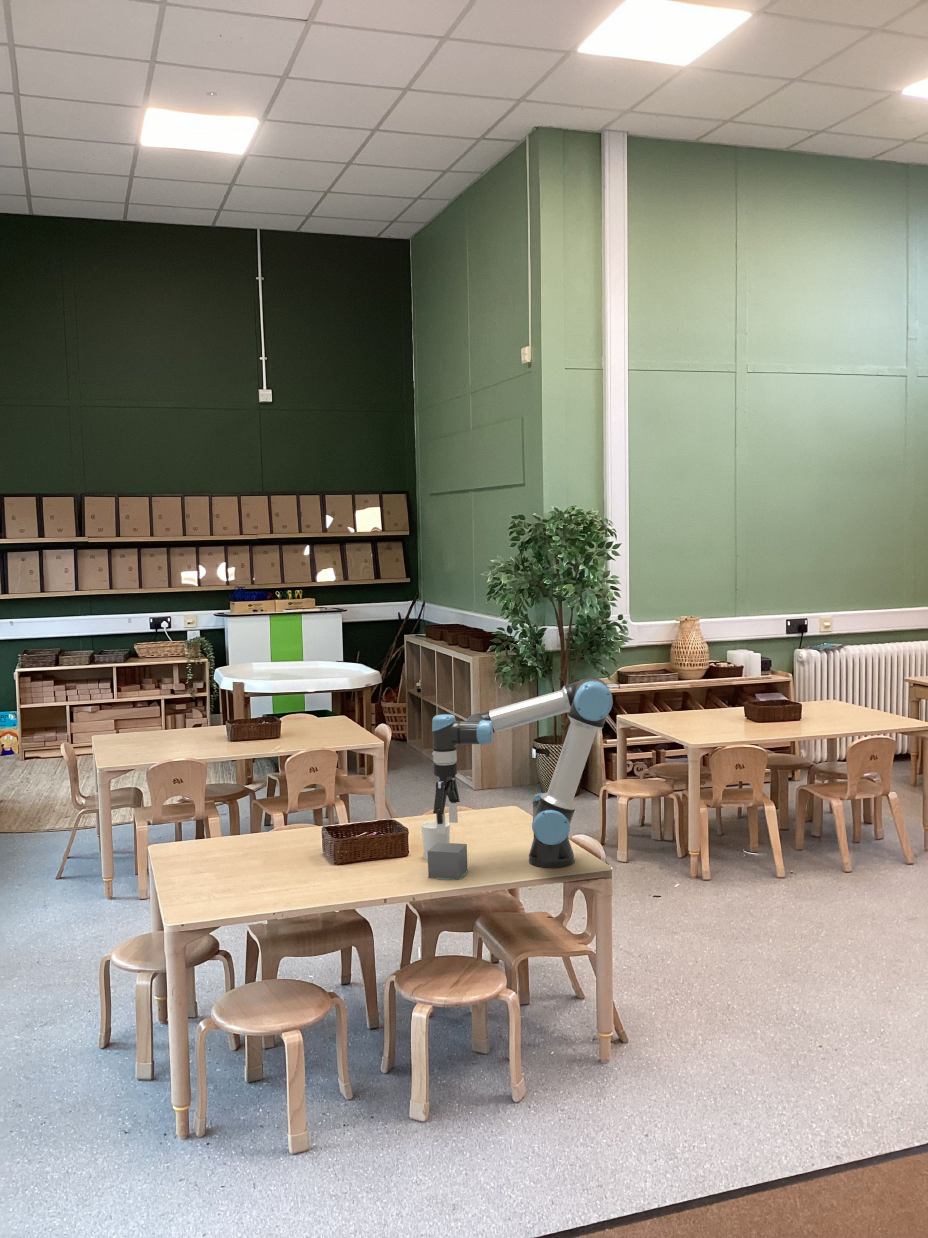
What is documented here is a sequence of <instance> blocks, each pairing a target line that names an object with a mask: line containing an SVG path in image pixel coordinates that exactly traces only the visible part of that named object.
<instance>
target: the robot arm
mask: <svg viewBox="0 0 928 1238" xmlns="http://www.w3.org/2000/svg"><path fill="white" fill-rule="evenodd" d="M613 703H614V701H613V694H612V692H611V690H610V689H609V687H608V685H607V684H606V683H605V681H604V680H602V679H599V678H598V677H586V678H583V679H581V680H580V679H579V681H575V682H572V683H570V684H569V683H568V684H567V685H563V686H562V688H561V689H560V690H557V691H553V692H550V693H546V694H543V695H538V696H535V697H532V698H528V699H525V700H523V701H518V702H515V703H511V704H507V705H504V706H500V707H497V708H493V709H491V710H486V711H484V712H474V713H473V714H471V715H470V716H468V718H467V719H466V720H456V716H455V715H453V714H448V713H447V714H438V715H437V714H436V715H434V716H433V718H432V722H431V726H432V729H431V733H432V734H431V735H432V753H431V755H432V756H433V758H432V759H433V775H434V776H435V777H438V778H439V780H438V781H435V794H434V795H435V796H434V804H433V805H434V806H433V811H432V813H433V815H434V814H435V815H436V819H435V821H436V823H437V833H438V834H445V833H446V828H445V821H446V813H445V809H446V808H445V807H446V803H447V798H448V801H449V802H448V822H449V823H450V824H451V823H453V824H458V822H459V821H458V819H459V818H458V803H460V796H459V791H458V787H457V786H458V785H457V780H456V776H457V774H458V764H457V761H458V757H457V756H458V755H457V745H481V746H483V745H489V744H492V743H493V742H494V741H493V740H494V733H497V732H498V733H499V732H501V731H504V730H508V729H512V728H515V727H519V726H523V725H527V724H530V723H534V722H537V721H541V720H544V719H548V718H551V717H555V716H558V715H562V714H566V713H568V715H567V718H568V719H569V721H570V724H569V726H568V730H567V732H566V733H567V734H566V736H565V739H564V741H563V745H562V748H561V751H560V754H559V756H558V760H557V762H556V765H555V769H554V771H553V775H552V777H551V781H550V783H549V786H548V789H547V792H538V793H534V794H533V796H532V801H531V804H532V823H531V829H532V832H533V839H532V843H531V847H530V850H529V853H528V862H529V864H531V865H532V866H535V867H541V868H547V869H551V868H552V869H553V868H563V867H567V866H571V865H572V864H574V862H575V854H574V850H573V847H572V844H571V842H570V839H569V834H570V831H571V823H572V819H573V816H574V814H575V811H576V805H575V803H574V798H575V795H576V793H577V790H578V786H579V784H580V780H581V778H582V775H583V771H584V769H585V767H586V763H587V760H588V757H589V754H590V752H591V748H592V745H593V743H594V739H595V736H596V735H597V734H596V733H597V732H598V731H599V730H601V729H603V728H604V726H605V723H606V719H607V717H608V715H609V714H610V712H611V710H612V707H613Z"/></svg>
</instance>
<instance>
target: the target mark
mask: <svg viewBox="0 0 928 1238" xmlns="http://www.w3.org/2000/svg"><path fill="white" fill-rule="evenodd" d="M467 875H468V871H467V872H465V873H464V874H463V875H462V876H461V877H460V879H463V878H465V877H467ZM434 879H436V880H441V881H442V880H443V881H452V880H453V879H447V878H434Z"/></svg>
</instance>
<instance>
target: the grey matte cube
mask: <svg viewBox="0 0 928 1238" xmlns="http://www.w3.org/2000/svg"><path fill="white" fill-rule="evenodd" d="M427 870H428V871H427V875H428V876H427V878H428V879H435V878H447V879H454V880H457V881H459V880H460V879H461V878H460V877H461V876H462V875H463V874H464V873H465V872H466V871H467V872H468V844H467V843H456V842H455V843H451V842H449V843H436V844H435V845H434V846H433V847H432V848H430V849H429V850H428V861H427Z"/></svg>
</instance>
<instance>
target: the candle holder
mask: <svg viewBox="0 0 928 1238" xmlns="http://www.w3.org/2000/svg"><path fill="white" fill-rule="evenodd" d="M445 828H446V833H445V834H438V833H437V823H436V820H428V821H425V822H422V823H421V835H422V848H423V857H424V860H425V861H426V862H428V850H429V849H430V848H432V847H433V846H434V845H435V844H436V843H450V838H451V837H450V834H451V832H450V831H451V823H449V821H446V820H445Z"/></svg>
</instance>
